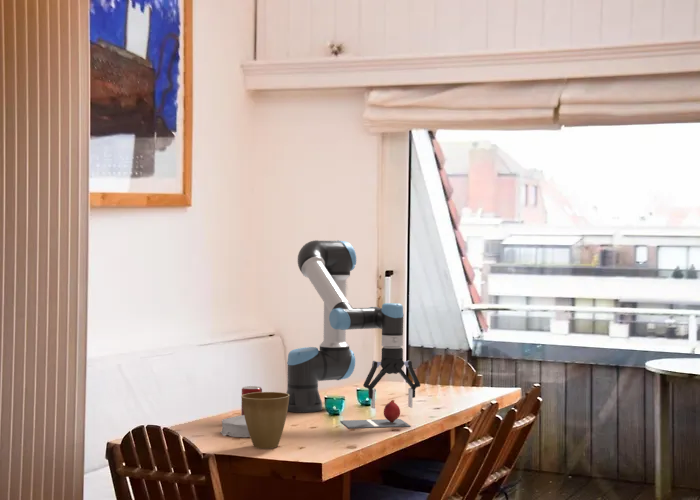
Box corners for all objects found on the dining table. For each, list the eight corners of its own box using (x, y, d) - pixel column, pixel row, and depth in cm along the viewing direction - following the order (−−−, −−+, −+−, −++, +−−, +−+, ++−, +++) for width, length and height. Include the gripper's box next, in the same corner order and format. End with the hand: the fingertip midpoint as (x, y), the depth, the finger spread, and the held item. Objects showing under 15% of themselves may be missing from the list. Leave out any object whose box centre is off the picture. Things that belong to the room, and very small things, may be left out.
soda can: (237, 422, 354) (238, 388, 354) (246, 419, 360) (247, 385, 361) (256, 423, 351) (256, 389, 351) (265, 420, 358) (265, 386, 358)
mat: (348, 428, 343) (348, 427, 343) (340, 421, 356) (340, 420, 356) (410, 426, 347) (410, 425, 347) (400, 420, 361) (400, 418, 361)
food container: (213, 430, 340) (213, 410, 339) (270, 426, 346) (270, 406, 346) (226, 442, 321) (226, 420, 321) (286, 437, 328) (286, 416, 328)
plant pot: (268, 440, 320) (269, 390, 320) (298, 447, 309) (299, 395, 309) (231, 446, 310) (231, 394, 310) (260, 453, 299) (261, 399, 299)
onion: (387, 423, 349) (388, 400, 349) (380, 421, 355) (381, 398, 355) (402, 423, 351) (403, 400, 352) (395, 421, 357) (396, 398, 357)
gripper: (360, 348, 347) (359, 409, 347) (429, 347, 352) (428, 408, 352) (355, 346, 354) (354, 406, 354) (423, 345, 359) (422, 405, 359)
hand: (391, 407), depth 353 cm, fingers open, 13 cm apart
